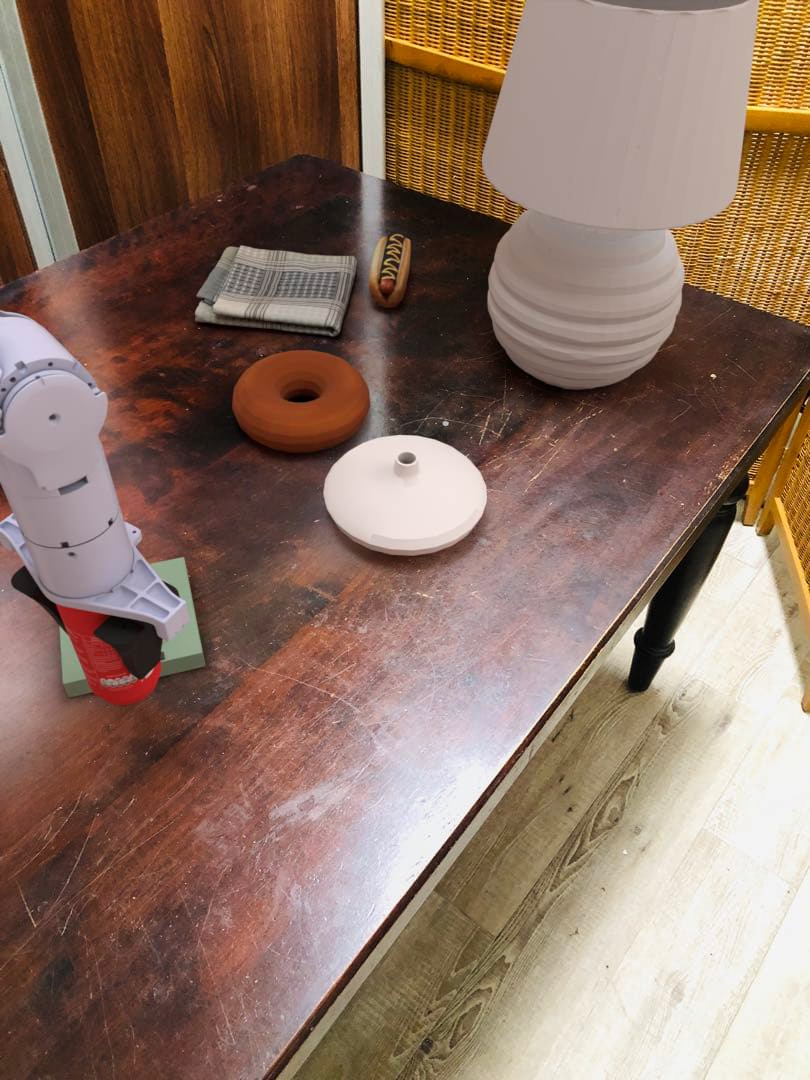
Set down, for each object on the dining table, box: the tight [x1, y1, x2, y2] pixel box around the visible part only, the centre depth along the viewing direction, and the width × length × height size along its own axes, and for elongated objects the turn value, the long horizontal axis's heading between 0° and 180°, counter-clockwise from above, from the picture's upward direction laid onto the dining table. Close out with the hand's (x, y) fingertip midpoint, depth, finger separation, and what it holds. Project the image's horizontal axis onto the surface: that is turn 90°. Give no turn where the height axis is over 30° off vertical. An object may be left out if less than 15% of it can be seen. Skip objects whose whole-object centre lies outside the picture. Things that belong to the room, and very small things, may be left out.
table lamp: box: [481, 0, 760, 391], centre depth 90 cm, size 25×25×40 cm
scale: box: [58, 556, 207, 698], centre depth 75 cm, size 11×11×2 cm
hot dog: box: [368, 231, 412, 309], centre depth 113 cm, size 5×13×5 cm, turn 175°
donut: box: [231, 349, 371, 454], centre depth 94 cm, size 15×15×5 cm
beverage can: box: [56, 604, 162, 707], centre depth 60 cm, size 5×5×12 cm
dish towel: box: [194, 245, 358, 337], centre depth 112 cm, size 19×18×3 cm
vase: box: [323, 434, 488, 557], centre depth 84 cm, size 16×16×7 cm
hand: (117, 650), depth 62 cm, fingers closed on beverage can, 5 cm apart
